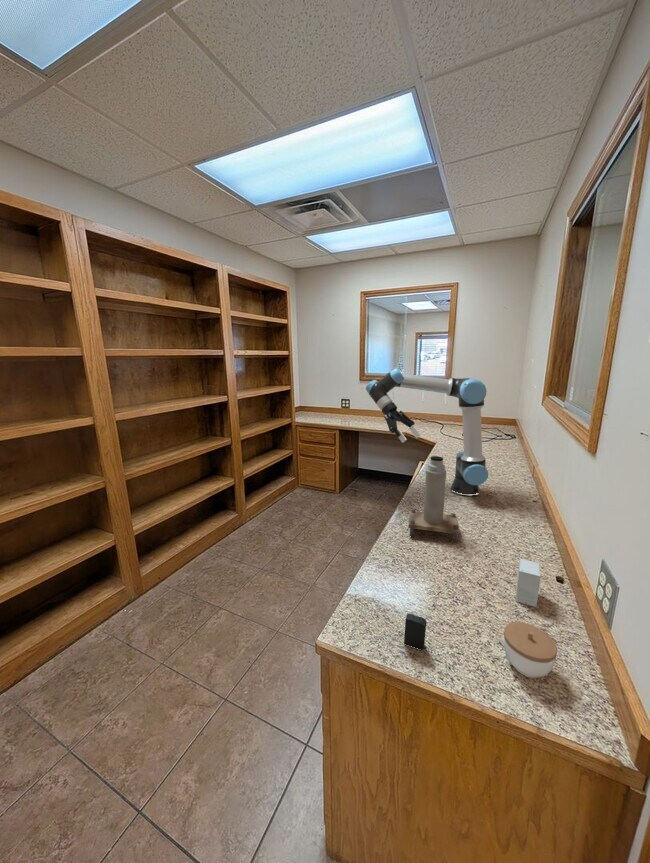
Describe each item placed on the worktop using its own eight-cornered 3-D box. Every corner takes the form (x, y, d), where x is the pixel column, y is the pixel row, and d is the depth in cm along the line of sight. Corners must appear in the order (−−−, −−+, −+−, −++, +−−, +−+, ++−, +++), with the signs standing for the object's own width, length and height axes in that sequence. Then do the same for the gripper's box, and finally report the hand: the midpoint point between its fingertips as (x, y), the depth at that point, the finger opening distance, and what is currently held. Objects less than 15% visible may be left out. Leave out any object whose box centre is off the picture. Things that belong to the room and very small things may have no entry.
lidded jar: (504, 678, 76) (508, 644, 74) (498, 642, 85) (501, 611, 84) (559, 694, 72) (565, 658, 70) (546, 655, 82) (551, 622, 80)
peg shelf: (455, 528, 145) (456, 513, 144) (458, 544, 132) (460, 528, 131) (409, 522, 151) (410, 507, 149) (408, 537, 138) (408, 521, 136)
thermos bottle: (428, 514, 146) (432, 453, 140) (445, 519, 141) (450, 456, 135) (420, 520, 140) (423, 457, 135) (437, 526, 135) (442, 461, 129)
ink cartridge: (424, 644, 85) (426, 618, 83) (423, 651, 83) (425, 624, 81) (405, 638, 87) (407, 612, 85) (403, 644, 85) (405, 618, 83)
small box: (536, 608, 97) (540, 576, 95) (515, 601, 100) (518, 570, 98) (536, 592, 104) (540, 563, 102) (516, 586, 107) (519, 557, 105)
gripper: (395, 408, 179) (419, 439, 172) (368, 413, 162) (393, 447, 155) (404, 399, 175) (429, 430, 167) (377, 403, 157) (403, 438, 150)
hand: (411, 439), depth 161 cm, fingers open, 13 cm apart
